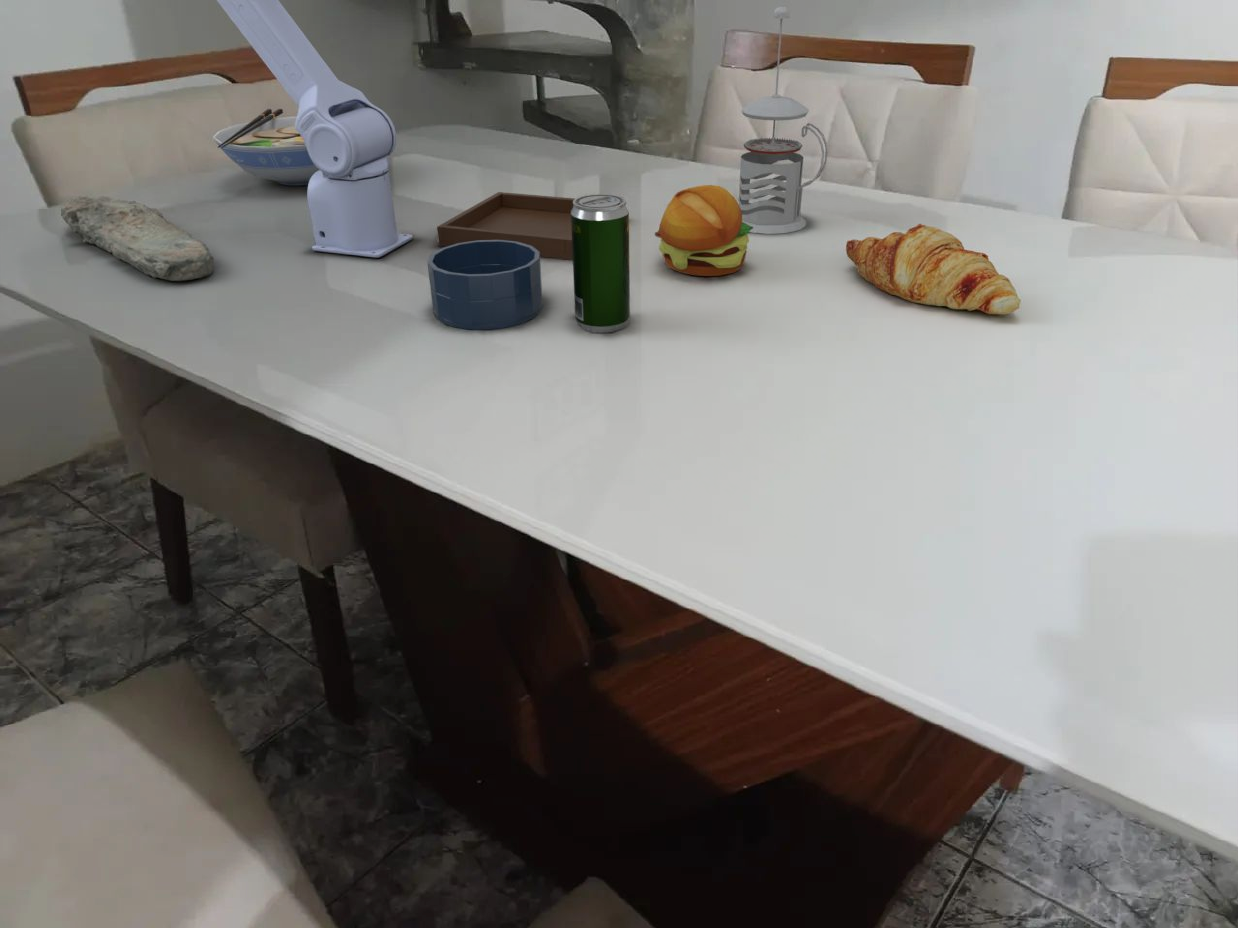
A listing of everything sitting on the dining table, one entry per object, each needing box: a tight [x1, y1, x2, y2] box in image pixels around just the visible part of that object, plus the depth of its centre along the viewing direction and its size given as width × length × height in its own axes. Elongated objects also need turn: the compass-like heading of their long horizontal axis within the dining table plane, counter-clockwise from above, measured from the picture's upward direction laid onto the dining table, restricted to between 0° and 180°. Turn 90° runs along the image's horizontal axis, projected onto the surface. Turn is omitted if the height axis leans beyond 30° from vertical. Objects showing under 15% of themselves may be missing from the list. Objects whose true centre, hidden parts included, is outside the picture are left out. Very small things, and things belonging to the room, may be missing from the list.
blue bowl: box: [426, 240, 544, 331], centre depth 94 cm, size 11×11×6 cm
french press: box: [737, 6, 829, 235], centre depth 113 cm, size 10×12×25 cm
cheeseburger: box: [654, 184, 753, 277], centre depth 103 cm, size 10×11×10 cm
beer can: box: [571, 193, 631, 334], centre depth 89 cm, size 5×5×12 cm
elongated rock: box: [60, 195, 214, 282], centre depth 113 cm, size 35×5×10 cm
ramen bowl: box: [212, 108, 319, 186], centre depth 140 cm, size 25×23×8 cm
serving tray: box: [436, 191, 576, 261], centre depth 117 cm, size 18×17×2 cm
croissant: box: [845, 223, 1021, 315], centre depth 96 cm, size 21×10×8 cm, turn 39°
